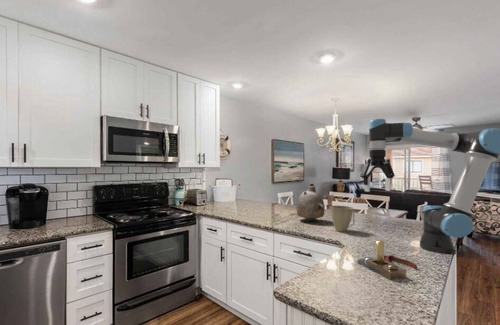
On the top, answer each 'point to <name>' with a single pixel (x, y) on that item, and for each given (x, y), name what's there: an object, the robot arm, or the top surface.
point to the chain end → (363, 262)
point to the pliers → (399, 261)
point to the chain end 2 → (388, 269)
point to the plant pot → (341, 217)
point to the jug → (310, 204)
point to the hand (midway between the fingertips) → (377, 191)
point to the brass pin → (379, 252)
